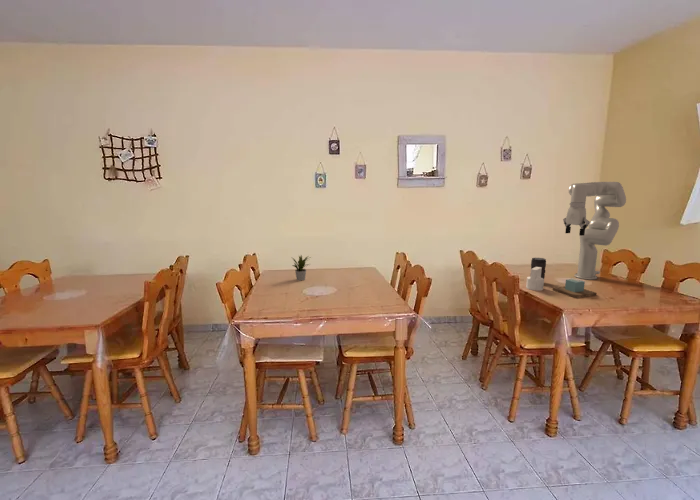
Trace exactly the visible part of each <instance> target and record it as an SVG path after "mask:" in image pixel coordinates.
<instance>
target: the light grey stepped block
mask: <svg viewBox="0 0 700 500" xmlns="http://www.w3.org/2000/svg"><path fill="white" fill-rule="evenodd" d="M541 270H542V267H535V268H532V269H531V268H530V273H531V274H530V273H529V274H530V275H529V276H527V277H526V285H525V288H526V289H527V290H531V291H543V290H544V286H545V285H544V284H545V278H544V279H543V278H541Z"/></svg>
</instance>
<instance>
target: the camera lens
mask: <svg viewBox="0 0 700 500" xmlns="http://www.w3.org/2000/svg"><path fill="white" fill-rule="evenodd" d="M546 260H547V259H546V258H544V257H531V259H530V261H531V262H530V270H531V269H532V268H535V267H542V270H541V278H543V279H544V280H545V277H546V267H547V261H546ZM529 274H531V272H530V273H529Z"/></svg>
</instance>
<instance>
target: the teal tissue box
mask: <svg viewBox="0 0 700 500" xmlns="http://www.w3.org/2000/svg"><path fill="white" fill-rule="evenodd" d="M585 283H586V282H585V281H583V280H581V279H577V278H573V277H571V278H570V279H565V285H564V286H565V289H566V290H569V291H572V292H582V291H584V289H585V285H586V284H585Z"/></svg>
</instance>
